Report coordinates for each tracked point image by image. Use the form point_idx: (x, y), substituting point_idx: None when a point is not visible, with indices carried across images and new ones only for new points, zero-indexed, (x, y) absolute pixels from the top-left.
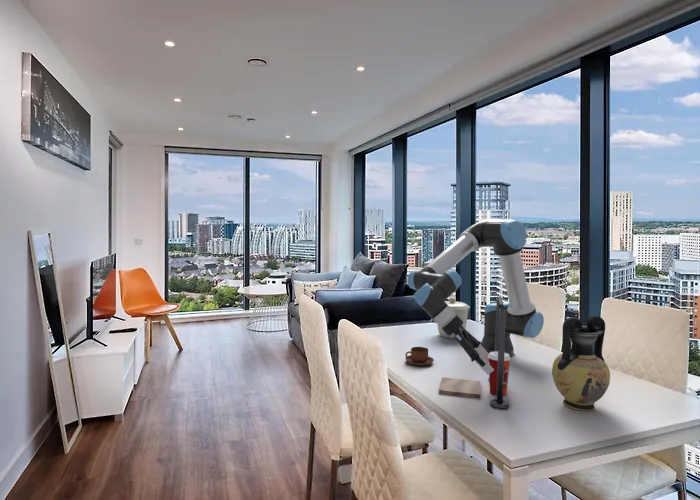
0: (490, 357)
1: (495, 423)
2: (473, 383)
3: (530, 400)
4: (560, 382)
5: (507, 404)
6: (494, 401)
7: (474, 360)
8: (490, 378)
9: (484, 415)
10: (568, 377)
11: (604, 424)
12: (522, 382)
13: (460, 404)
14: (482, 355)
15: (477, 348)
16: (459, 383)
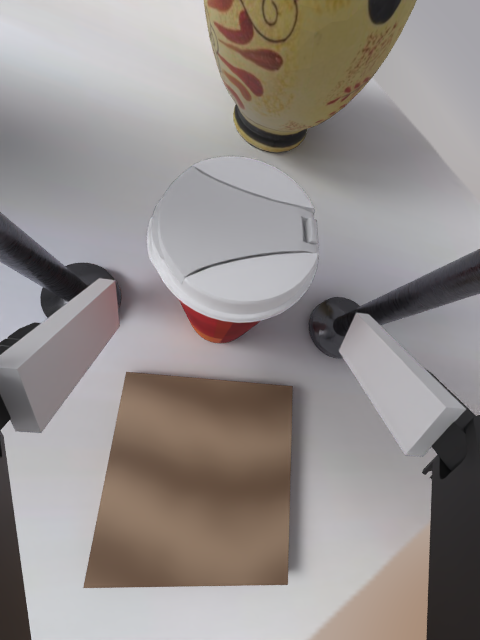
0: (276, 306)
1: (462, 358)
2: (163, 406)
3: None
4: (351, 89)
5: (347, 303)
6: (337, 341)
7: (421, 454)
8: (241, 333)
9: None
10: (393, 40)
11: (366, 119)
12: (84, 206)
13: (368, 465)
14: (87, 354)
15: (35, 406)
16: (175, 477)
